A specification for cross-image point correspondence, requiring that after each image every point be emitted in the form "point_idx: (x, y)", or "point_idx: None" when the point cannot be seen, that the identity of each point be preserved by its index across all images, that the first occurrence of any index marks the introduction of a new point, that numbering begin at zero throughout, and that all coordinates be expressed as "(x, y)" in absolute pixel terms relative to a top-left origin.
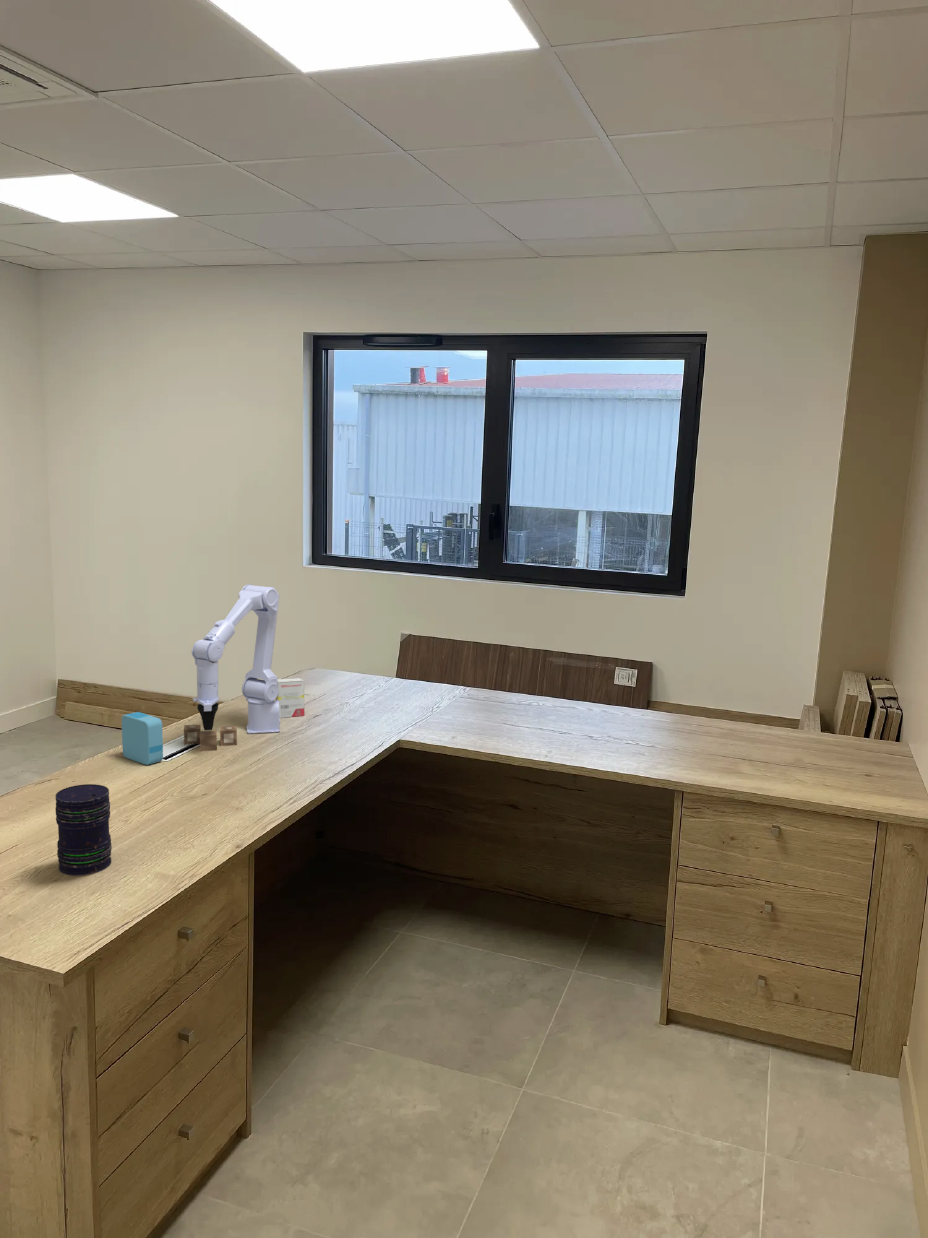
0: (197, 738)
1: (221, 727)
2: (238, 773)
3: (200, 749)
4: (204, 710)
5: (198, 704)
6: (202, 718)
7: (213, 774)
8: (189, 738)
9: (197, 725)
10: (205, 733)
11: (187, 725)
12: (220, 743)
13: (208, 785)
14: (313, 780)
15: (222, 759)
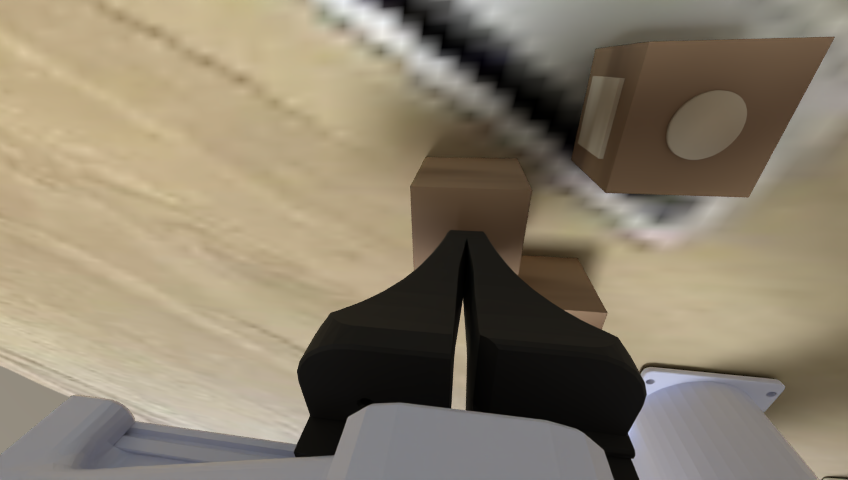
0: (586, 150)
1: (579, 317)
2: (157, 283)
3: (423, 161)
4: (61, 410)
5: (610, 369)
6: (411, 278)
7: (118, 206)
8: (596, 93)
9: (730, 172)
10: (464, 223)
11: (796, 74)
12: (532, 256)
13: (4, 185)
14: (161, 414)
15: (298, 248)
